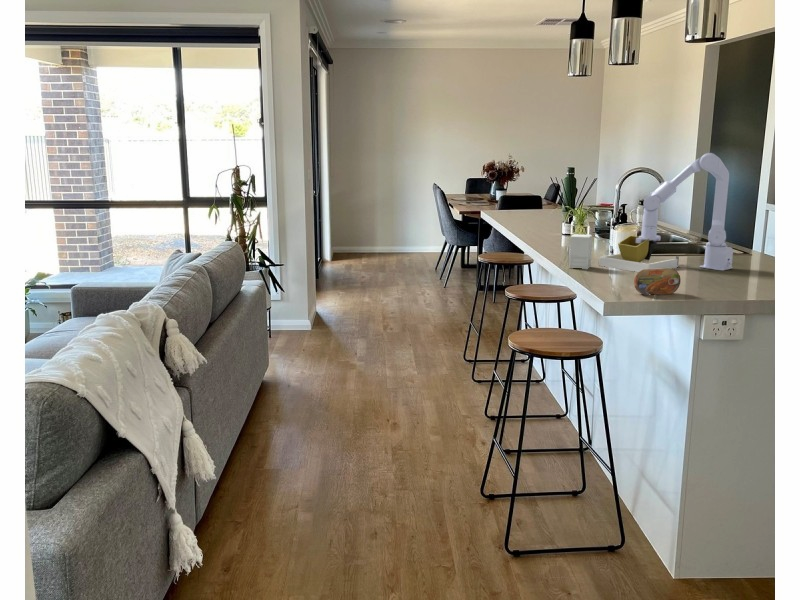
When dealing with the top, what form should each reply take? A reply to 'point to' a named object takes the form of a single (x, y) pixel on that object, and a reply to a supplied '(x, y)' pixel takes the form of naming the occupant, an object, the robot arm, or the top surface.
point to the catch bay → (635, 263)
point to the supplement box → (580, 251)
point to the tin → (657, 281)
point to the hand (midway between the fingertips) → (646, 259)
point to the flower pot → (633, 249)
